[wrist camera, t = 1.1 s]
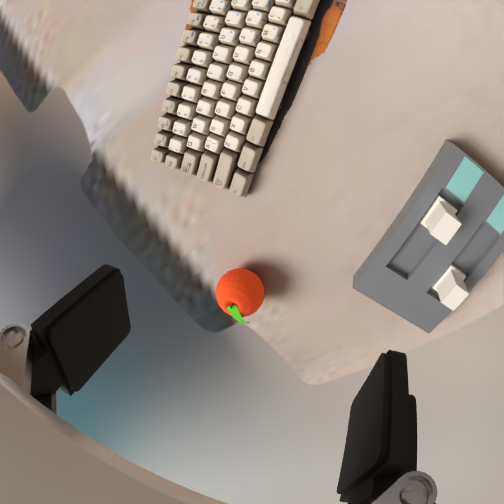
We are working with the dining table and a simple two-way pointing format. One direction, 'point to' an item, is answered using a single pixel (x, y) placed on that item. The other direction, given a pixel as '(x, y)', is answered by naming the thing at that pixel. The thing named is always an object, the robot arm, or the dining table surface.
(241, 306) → the clementine
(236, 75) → the mechanical keyboard
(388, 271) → the switch panel
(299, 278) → the dining table surface
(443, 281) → the tab
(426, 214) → the tab
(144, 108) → the dining table surface
